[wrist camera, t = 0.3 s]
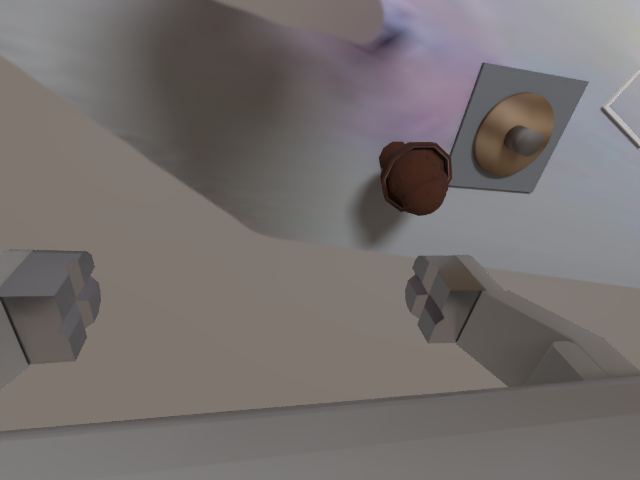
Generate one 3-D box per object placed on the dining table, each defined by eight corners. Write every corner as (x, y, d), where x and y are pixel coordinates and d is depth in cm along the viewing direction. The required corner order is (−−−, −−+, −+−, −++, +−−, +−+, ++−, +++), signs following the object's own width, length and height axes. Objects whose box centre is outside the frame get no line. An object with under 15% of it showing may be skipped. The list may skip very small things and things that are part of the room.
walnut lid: (493, 86, 56) (513, 92, 52) (564, 98, 59) (588, 104, 55) (461, 170, 63) (476, 181, 59) (526, 176, 66) (545, 187, 62)
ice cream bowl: (435, 162, 62) (483, 200, 49) (380, 198, 64) (414, 243, 51) (410, 110, 56) (458, 139, 44) (352, 152, 58) (381, 190, 46)
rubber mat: (482, 62, 54) (484, 62, 54) (586, 81, 59) (588, 81, 58) (439, 183, 64) (440, 184, 64) (530, 191, 69) (532, 192, 69)
